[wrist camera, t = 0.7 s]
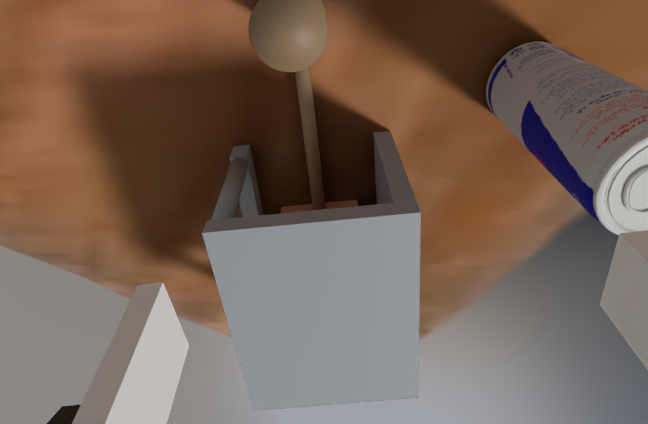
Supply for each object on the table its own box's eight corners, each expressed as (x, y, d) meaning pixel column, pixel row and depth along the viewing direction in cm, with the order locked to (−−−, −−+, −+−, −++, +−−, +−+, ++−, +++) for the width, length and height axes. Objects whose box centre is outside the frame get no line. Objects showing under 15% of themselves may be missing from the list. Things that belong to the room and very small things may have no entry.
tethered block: (241, -23, 28) (214, -4, 20) (340, -34, 28) (350, -19, 20) (291, 266, 40) (286, 347, 32) (361, 259, 39) (373, 340, 32)
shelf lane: (233, 146, 34) (201, 233, 24) (389, 130, 33) (420, 212, 24) (267, 300, 42) (253, 411, 32) (394, 289, 41) (418, 398, 32)
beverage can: (466, 87, 32) (569, 196, 19) (533, 20, 30) (700, 92, 17) (517, 136, 34) (640, 264, 21) (583, 77, 32) (767, 179, 19)
